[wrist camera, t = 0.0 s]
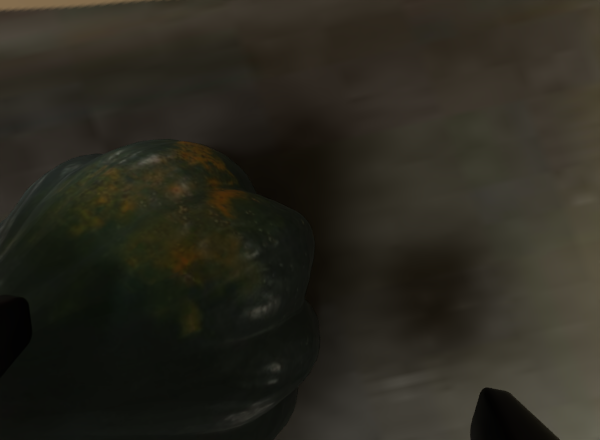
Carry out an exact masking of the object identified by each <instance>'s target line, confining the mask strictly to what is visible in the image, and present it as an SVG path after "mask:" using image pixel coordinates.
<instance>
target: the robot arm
mask: <svg viewBox="0 0 600 440" xmlns="http://www.w3.org/2000/svg"><path fill="white" fill-rule="evenodd" d="M31 337H32V324H31V316H30V308H29V303H28V301H27V300H26V299H25V298H23V297H19V296H14V295H8V294H4V295H0V378H1V377H2V375H3V374H4V373H5V372H6V371H7V369H8V368H9V367H10V366H11V365H12V363H13V362H14V361H15V360H16V359H17V357H18V356H19V355H20V354H21V353H22V351H23V350H24V349H25V348H26V347H27V345H28V344H29V342H30V340H31ZM470 438H471V440H560V439H559V438H558V437H557V436H556V435H554V434H553V433H552V432H551V431H550V430H549V429H548V428H547V427H546V426H545V425H544V424H543V423H542V422H540V421H539V420H538V419H537V418H536V417H535V416H534V415H533V414H532V413H531V412H530V411H529V410H527V409H526V408H525V407H524V406H523V405H522V404H521V403H520V402H519V401H518V400H517V399H516V398H515V397H513V396H512V395H511V394H510V393H509V392H507V391H503V390H498V389H492V388H484V389H482V391H481V392H480V395H479V399H478V402H477V405H476V409H475V412H474V416H473V419H472V423H471V430H470Z"/></svg>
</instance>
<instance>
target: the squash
mask: <svg viewBox="0 0 600 440" xmlns="http://www.w3.org/2000/svg"><path fill="white" fill-rule="evenodd" d="M314 250H315V242H314V237H313V232H312V228H311V226H310V224H309V222H308V221H307V220H306V219H305V217H304V216H302V214H300V213H298V212H296V211H295V210H293V209H290V208H289V207H287V206H285V205H282V204H280V203H278V202H276V201H274V200H271V199H268V198H266V197H263V196H261V195H258V194H256V191H255V189H254V187H253V185H252V183H251V182H250V180H249V178H248V176H247V175H246V173H245V172H244V171H243V170H242V169H241V168H240V167H239V166H238V165H237V164H235V163H234V162H233V161H232V160H231V159H229V158H228V157H227V156H225V155H224V154H222V153H220V152H218V151H216V150H214V149H211V148H209V147H207V146H205V145H202V144H197V143H192V142H182V141H178V140H172V139H161V140H149V141H142V142H137V143H133V144H130V145H127V146H123V147H120V148H118V149H115V150H113V151H110V152H108V153H106V154H91V155H84V156H79V157H76V158H73V159H70V160H68V161H66V162H64V163H62V164H60V165H59V166H57V167H56V168H54V169H52V170H51V171H49V172H47V173H46V174H44V175H43V176H42V177H41V178H40V179H39V180H37V181H36V182H35V183H34V184H33V185H32V186H31V187H29V188H28V189H27V190H26V192H25V193H24V195H23V196H22V198H21V199H20V200H19V202H18V203H17V205H16V206H15V208H14V209H13V210H12V212H11V213H10V214H9V216H8V217H7V218H6V219H5V220H3V221H2V222H1V223H0V295H4V294H8V295H14V296H19V297H23V298H25V299H26V300H27V301H28V303H29V308H30V316H31V324H32V337H31V340H30V342H29V344H28V345H27V347H26V348H25V349H24V350H23V351H22V353H21V354H20V355H19V356H18V357H17V359H16V360H15V361H14V362H13V363H12V365H11V366H10V367H9V368H8V369H7V371H6V372H5V373H4V374H3V375H2V377H1V378H0V440H273V439H274V438H275V437H276V436H277V434H278V433H279V432H280V431H281V430H282V429H283V427H284V426H285V425H286V424H287V422H288V420H289V418H290V417H291V415H292V413H293V411H294V408H295V404H296V399H297V392H298V386H299V385H300V384H301V383H302V382H303V381H304V379H305V378H306V377H307V376H308V374H309V373H310V371H311V369H312V367H313V365H314V363H315V362H316V360H317V357H318V353H319V348H320V335H319V323H318V318H317V316H316V314H315V311H314V310H313V308H312V307H311V305H310V304H309V303H308V302H307V301H306V299H305V298H304V297H305V294H306V290H307V286H308V283H309V279H310V273H311V268H312V263H313V259H314Z"/></svg>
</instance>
